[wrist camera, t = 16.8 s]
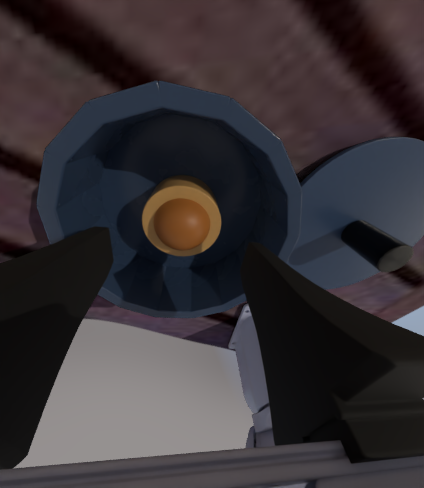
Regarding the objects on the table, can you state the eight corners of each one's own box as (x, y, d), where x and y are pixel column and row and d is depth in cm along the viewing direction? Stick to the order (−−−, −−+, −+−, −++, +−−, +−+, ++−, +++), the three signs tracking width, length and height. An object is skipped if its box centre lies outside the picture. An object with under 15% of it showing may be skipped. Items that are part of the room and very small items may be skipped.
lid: (364, 285, 22) (404, 324, 18) (250, 278, 20) (265, 320, 16) (475, 154, 15) (592, 167, 10) (311, 116, 12) (374, 113, 8)
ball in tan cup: (211, 240, 16) (216, 273, 13) (150, 234, 15) (137, 267, 12) (222, 180, 14) (233, 201, 10) (149, 169, 13) (132, 187, 9)
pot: (243, 275, 20) (258, 320, 15) (105, 265, 17) (75, 315, 13) (295, 124, 12) (354, 125, 8) (71, 75, 10) (-27, 37, 6)
